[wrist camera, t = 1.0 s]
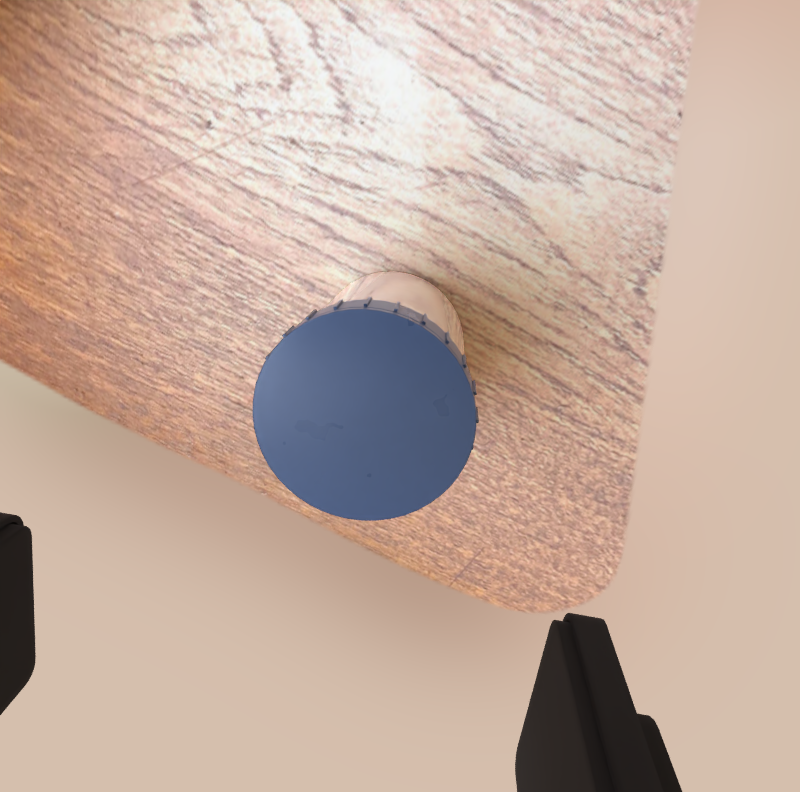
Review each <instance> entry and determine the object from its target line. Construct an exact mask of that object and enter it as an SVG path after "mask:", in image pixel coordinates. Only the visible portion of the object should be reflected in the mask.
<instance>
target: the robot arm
mask: <svg viewBox="0 0 800 792" xmlns="http://www.w3.org/2000/svg"><path fill="white" fill-rule="evenodd" d="M34 666H35V626H34V594H33V561H32V535H31V531H30V529H29V528H28V527H27V526H24V525H23V521H22V519H21V518H20V517H19V516H17V515H12V514H5V513H0V715H1V714H2V713H3V711H4V710H5V709H6V708H7V707H8V705H9V704H10V703H11V702H12V700H13V699H14V698H15V697H16V696H17V695H18V693H19V692H20V691H21V690H22V689H23V687H24V686H25V685H26V683H27V682H28V681H29V679H30V677H31V675H32V672H33V670H34ZM515 772H516V783H517V792H682V790H681V788H680V785H679V782H678V779H677V777H676V774H675V771H674V769H673V766H672V763H671V761H670V758H669V755H668V752H667V750H666V747H665V744H664V742H663V739H662V737H661V734H660V731H659V729H658V727H657V725H656V723H655V721H654V720H653V719H652V718H651V717H650V716H648V715H642V714H637V713H636V710H635V707H634V704H633V701H632V698H631V695H630V692H629V689H628V686H627V683H626V681H625V678H624V675H623V672H622V669H621V666H620V663H619V660H618V657H617V654H616V652H615V648H614V645H613V643H612V640H611V637H610V634H609V631H608V628H607V625H606V623H605V621H604V620H603V619H601V618H595V617H589V616H583V615H578V614H572V613H567V614H566V615H565V617H564V619H563V621H558V620H554V621H553V622H552V624H551V626H550V629H549V633H548V637H547V641H546V644H545V648H544V651H543V656H542V659H541V662H540V666H539V670H538V673H537V678H536V681H535V684H534V688H533V692H532V696H531V699H530V703H529V707H528V710H527V714H526V718H525V721H524V725H523V729H522V732H521V736H520V740H519V743H518V747H517V752H516V762H515Z"/></svg>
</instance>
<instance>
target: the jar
mask: <svg viewBox="0 0 800 792" xmlns="http://www.w3.org/2000/svg"><path fill="white" fill-rule="evenodd" d="M368 297H372V300H382V301H388V302H392V303H396V304H397V301H399V302H401V303H400V305H402V306H405V307H408V308H410V309H413V310H415V311H417V312H418V313H420V314H422V315H424V313H426V314H427V318H428V319H430V320H431V321H433V322H434V323H435V324H437V325H438V326H439V327H440V328H441V329H442V330H443V331H444V332H445V333H446V332H447V331H448V332H449V333H450V338H451V339H452V341H453V342H454V343H455V344H456V346H457V347H458V349H459V351H460V352H461V354H462V355H464V339H463V331H462V326H461V323H460V320H459V317H458V315H457V313H456V310H455V309H454V307H453V305H452V304H451V302H450V301H449V300H448V299H447V297H446V296H445V295H444V294H443V293H442V292H441V291H440V290H439V289H438V288H437V287H435V286H434V285H432V284H431V283H430V282H428V281H426V280H424V279H422V278H420V277H417V276H415V275H412V274H408V273H404V272H395V271H385V272H377V273H372V274H369V275H366V276H363V277H361V278H359V279H357V280H355V281H353V282H352V283H350V284H349V285H347V286H346V287H345V288H344V289H343V290H341V291H340V292H339V293H338V294H337V295H336V296H335V297H334V298H333V300H332V301H331V302H330V303H329V304H328V305H327V306H326V307H328V306H331V305H334V304H336V303H337V302H338V301H339V300H342V299H343V302H345V301H351V300H364V299H367V298H368Z"/></svg>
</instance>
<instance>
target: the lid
mask: <svg viewBox="0 0 800 792" xmlns="http://www.w3.org/2000/svg"><path fill="white" fill-rule="evenodd" d="M400 303H401V302H399V301H397V304H396V303H392V302H388V301H382V300H372V297H368V298H367V299H364V300H351V301H345V302H343V299H342V300H339V301H338V302H337V303H336V304H334V305H331V306H328V307H325V308H323V309H321V310H319V311H317V310H316V309H315V310H313V311H312V312H311V313H310V314H309V315H308V316H307V317H306V318H305V319H304V320H303V321H302V322H301V323H299V324H298V325H297V326H296V327H294V326H292V327H291V328H290V329H289V330H288V331H287V332H286V333H285V334H283V335H282V336H283V337H284V338H283V339H282V340H281V341H280V343H279V344H278V345H277V346H276V347H275V348H274V349H273V351H271V352H270V353H269V354H268V355H267V356H266V358H265V359H266V361H265V363H264V365H263V367H262V369H261V372H260V374H259V377H258V380H257V382H256V386H255V391H254V398H253V422H254V429H255V433H256V437H257V441H258V444H259V446H260V449H261V451H262V454H263V456H264V458H265V459H266V461H267V463H268V465H269V467H270V468H271V469H272V471H273V472H274V473H275V475H276V476H277V478H278V479H279V480H280V481H281V482H282V483H283V484H284V485H285V486H286V487H287V488H288V489H289V490H290V491H291V492H293V493H294V494H295V495H296V496H297V497H299V498H300V499H302V500H303V501H305V502H306V503H308V504H309V505H311V506H313V507H315V508H317V509H319V510H321V511H324V512H327V513H329V514H332V515H335V516H339V517H343V518H347V519H354V520H384V519H391V518H395V517H400V516H404V515H406V514H409V513H411V512H414V511H417V510H419V509H420V508H422V507H424V506H426V505H428V504H429V503H431V502H432V501H434V500H435V499H437V498H438V497H439V496H440V495H442V494H443V493H444V492H445V491H446V490H447V489H448V488H449V487H450V486H451V485H452V484H453V482H454V481H455V480H456V479H457V477H458V476H459V474H460V473H461V471H462V470H463V468H464V466H465V465H466V462H467V460H468V458H469V455H470V453H471V450H473V443H474V439H475V432H476V423H478V422H479V419H478V409H477V407H476V405H475V395H477V393H476V384H475V380H473V381H472V378H471V375H470V371H469V368H468V366H467V363H466V356H465V354H464V355H462V354H461V352H460V351H459V349H458V347H457V346H456V344H455V343H454V342H453V341H452V339H451V338H450V333H449V332H448V331H447V332H446V333H445V332H444V331H443V330H442V329H441V328H440V327H439V326H438V325H437V324H435V323H434V322H433V321H431V320H430V319H428V318H427V314H426V313H424V315H422V314H420V313H418V312H417V311H415V310H413V309H410V308H408V307H405V306H402V305H400Z"/></svg>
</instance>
